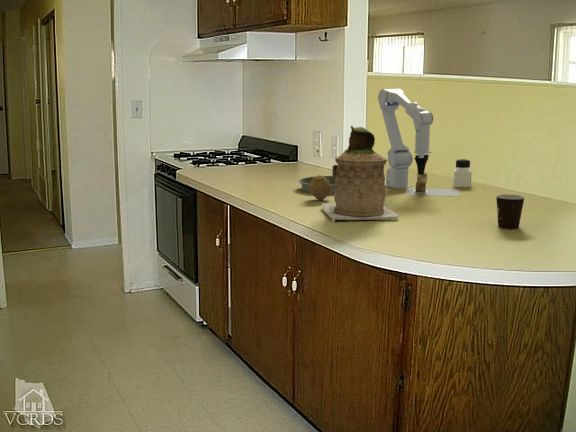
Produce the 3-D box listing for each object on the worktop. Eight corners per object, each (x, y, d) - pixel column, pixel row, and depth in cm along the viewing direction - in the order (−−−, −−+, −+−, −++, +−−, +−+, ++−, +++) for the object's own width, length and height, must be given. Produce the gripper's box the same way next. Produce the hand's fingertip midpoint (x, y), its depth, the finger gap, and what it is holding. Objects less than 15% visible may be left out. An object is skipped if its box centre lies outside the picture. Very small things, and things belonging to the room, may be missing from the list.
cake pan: (308, 184, 299) (308, 174, 298) (360, 186, 291) (360, 176, 290) (291, 193, 276) (290, 183, 275) (346, 196, 268) (346, 185, 267)
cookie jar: (400, 221, 221) (403, 127, 214) (329, 223, 219) (329, 128, 212) (384, 206, 245) (386, 122, 238) (320, 208, 243) (320, 123, 237)
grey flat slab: (405, 195, 267) (405, 194, 266) (407, 189, 282) (407, 187, 282) (460, 197, 262) (460, 196, 262) (459, 190, 277) (459, 189, 277)
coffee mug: (499, 222, 216) (500, 193, 214) (525, 225, 212) (527, 195, 209) (488, 229, 207) (489, 199, 205) (515, 233, 202) (517, 201, 200)
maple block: (416, 183, 270) (417, 173, 270) (417, 181, 274) (417, 172, 273) (426, 183, 269) (426, 173, 269) (426, 181, 273) (427, 172, 272)
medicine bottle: (470, 187, 283) (472, 160, 281) (454, 187, 285) (455, 160, 282) (469, 185, 290) (470, 158, 287) (453, 184, 291) (454, 158, 289)
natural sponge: (304, 199, 260) (303, 175, 258) (320, 196, 266) (320, 173, 264) (318, 202, 253) (318, 177, 251) (335, 200, 259) (335, 175, 256)
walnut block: (415, 192, 271) (415, 183, 270) (415, 190, 275) (416, 181, 274) (425, 192, 270) (425, 183, 270) (425, 191, 274) (425, 181, 273)
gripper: (431, 142, 260) (430, 175, 263) (432, 139, 274) (431, 170, 277) (414, 142, 262) (413, 175, 265) (415, 138, 276) (414, 170, 279)
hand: (421, 173), depth 271 cm, fingers open, 7 cm apart
